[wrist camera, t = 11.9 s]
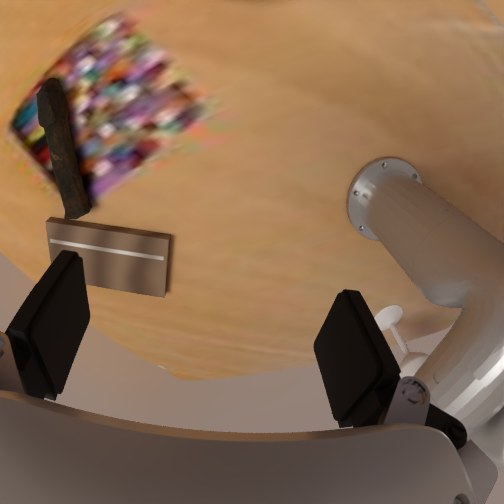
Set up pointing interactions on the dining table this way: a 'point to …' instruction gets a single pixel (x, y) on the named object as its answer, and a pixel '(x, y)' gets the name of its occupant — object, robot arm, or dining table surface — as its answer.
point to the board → (114, 255)
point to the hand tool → (62, 148)
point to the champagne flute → (400, 340)
